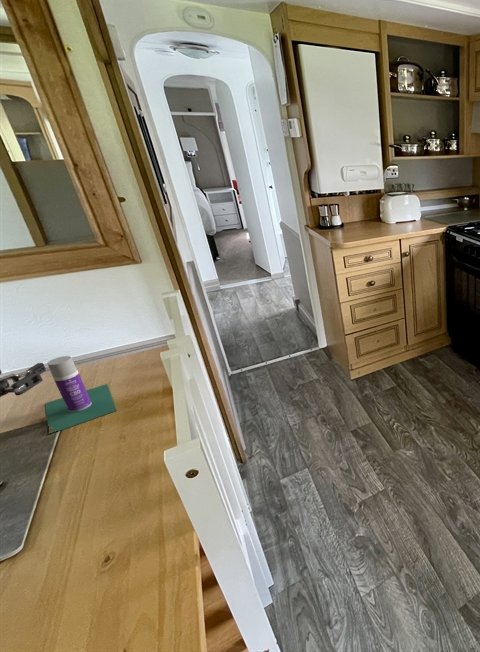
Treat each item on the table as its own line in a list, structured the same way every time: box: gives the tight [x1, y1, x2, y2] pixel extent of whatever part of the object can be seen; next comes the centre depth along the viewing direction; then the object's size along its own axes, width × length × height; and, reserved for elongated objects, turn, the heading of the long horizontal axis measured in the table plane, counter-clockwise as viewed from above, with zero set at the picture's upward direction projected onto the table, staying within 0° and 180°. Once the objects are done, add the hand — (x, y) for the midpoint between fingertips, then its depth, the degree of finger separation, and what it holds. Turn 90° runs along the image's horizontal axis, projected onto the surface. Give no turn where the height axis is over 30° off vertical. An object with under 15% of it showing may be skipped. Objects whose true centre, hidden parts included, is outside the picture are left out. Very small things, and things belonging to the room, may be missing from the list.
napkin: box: [45, 383, 117, 433], centre depth 105 cm, size 18×13×1 cm
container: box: [46, 355, 92, 412], centre depth 102 cm, size 5×5×15 cm
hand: (20, 367), depth 89 cm, fingers open, 8 cm apart
